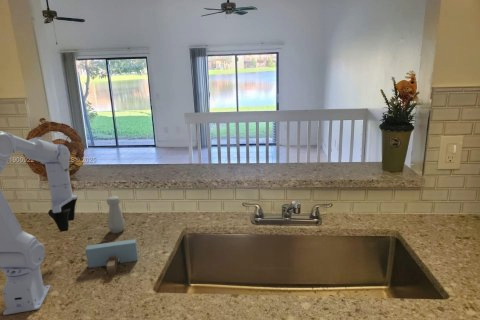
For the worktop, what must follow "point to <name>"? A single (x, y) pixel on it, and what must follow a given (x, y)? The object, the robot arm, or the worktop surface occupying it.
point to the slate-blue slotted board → (111, 252)
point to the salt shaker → (115, 215)
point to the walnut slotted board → (112, 265)
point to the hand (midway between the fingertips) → (67, 225)
